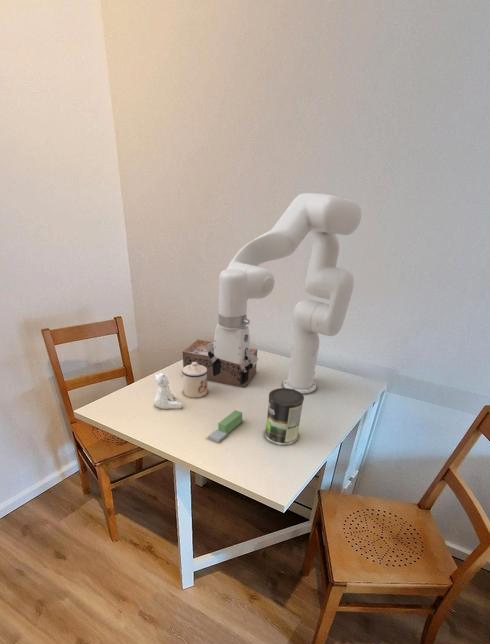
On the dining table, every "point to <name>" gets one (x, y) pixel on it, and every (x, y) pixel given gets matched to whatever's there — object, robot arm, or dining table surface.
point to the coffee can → (283, 415)
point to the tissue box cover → (200, 355)
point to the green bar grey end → (226, 426)
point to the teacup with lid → (195, 380)
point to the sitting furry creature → (164, 394)
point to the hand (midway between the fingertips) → (230, 378)
